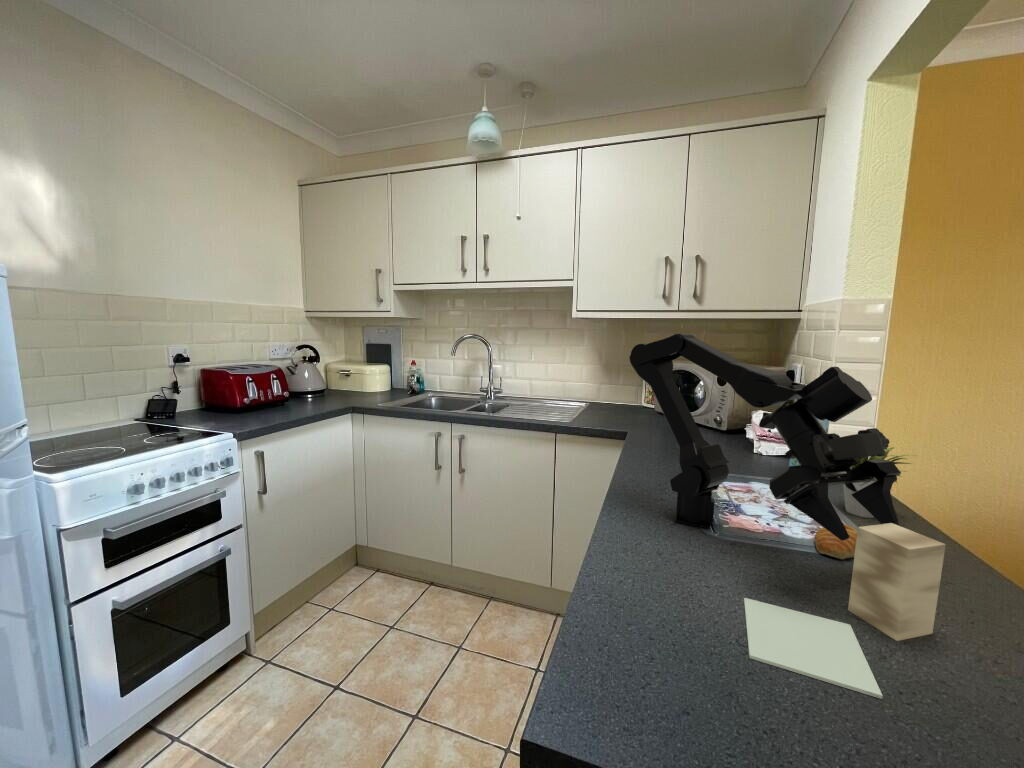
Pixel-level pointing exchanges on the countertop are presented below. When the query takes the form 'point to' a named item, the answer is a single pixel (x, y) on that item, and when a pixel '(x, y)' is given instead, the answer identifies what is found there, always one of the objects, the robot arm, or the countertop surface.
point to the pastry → (836, 543)
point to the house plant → (850, 501)
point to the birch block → (896, 580)
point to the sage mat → (808, 646)
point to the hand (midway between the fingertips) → (872, 536)
